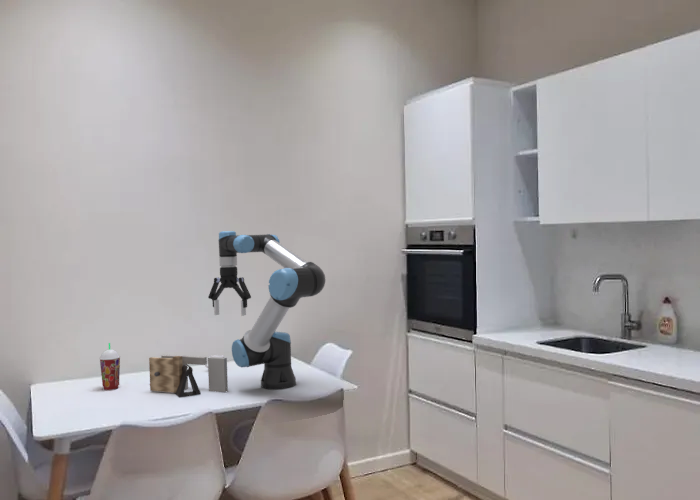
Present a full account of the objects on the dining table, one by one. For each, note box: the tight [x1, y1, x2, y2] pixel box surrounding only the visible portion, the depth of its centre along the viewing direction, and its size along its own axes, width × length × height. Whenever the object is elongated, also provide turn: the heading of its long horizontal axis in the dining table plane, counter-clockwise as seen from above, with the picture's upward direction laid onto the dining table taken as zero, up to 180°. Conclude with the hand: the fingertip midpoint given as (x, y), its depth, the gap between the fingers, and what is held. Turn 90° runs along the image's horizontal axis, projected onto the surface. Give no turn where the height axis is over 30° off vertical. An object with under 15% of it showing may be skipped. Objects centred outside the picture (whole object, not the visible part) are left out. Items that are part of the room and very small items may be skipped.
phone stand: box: [175, 364, 201, 398], centre depth 259 cm, size 9×6×12 cm, turn 117°
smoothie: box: [99, 342, 121, 391], centre depth 274 cm, size 8×8×20 cm
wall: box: [160, 354, 229, 393], centre depth 267 cm, size 32×2×14 cm, turn 68°
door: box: [148, 355, 183, 394], centre depth 263 cm, size 16×3×15 cm, turn 69°
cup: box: [204, 354, 225, 369], centre depth 306 cm, size 8×10×7 cm
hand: (230, 315), depth 273 cm, fingers open, 13 cm apart
